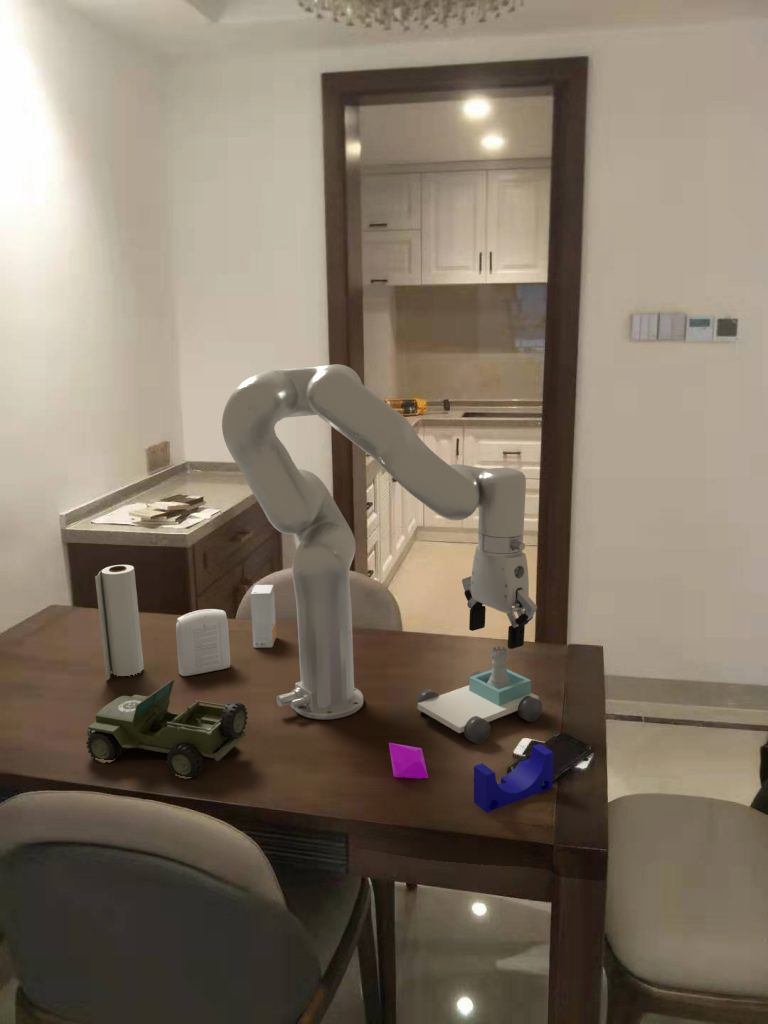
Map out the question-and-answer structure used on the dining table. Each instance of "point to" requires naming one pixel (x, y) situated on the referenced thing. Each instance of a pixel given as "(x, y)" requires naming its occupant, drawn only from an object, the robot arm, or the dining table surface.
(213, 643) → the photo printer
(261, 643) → the skincare box
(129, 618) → the paper towel roll
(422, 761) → the crystal
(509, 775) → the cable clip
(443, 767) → the dining table surface
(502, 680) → the rook chess piece
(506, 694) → the chassis
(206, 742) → the toy jeep
